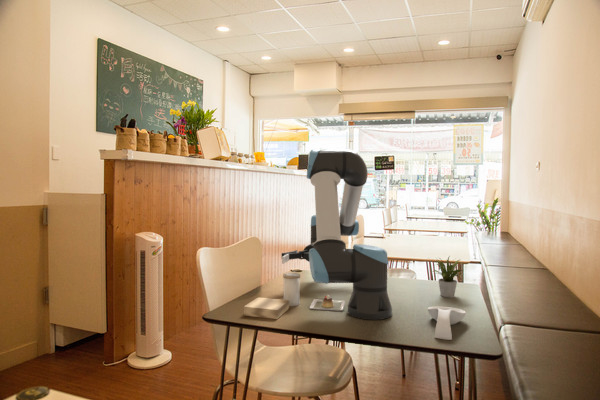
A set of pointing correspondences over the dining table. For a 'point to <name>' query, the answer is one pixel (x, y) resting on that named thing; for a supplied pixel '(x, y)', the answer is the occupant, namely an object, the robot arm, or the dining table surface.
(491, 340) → the dining table surface
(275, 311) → the base
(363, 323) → the dining table surface
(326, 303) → the dessert
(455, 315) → the spoon rest
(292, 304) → the canister
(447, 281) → the house plant
